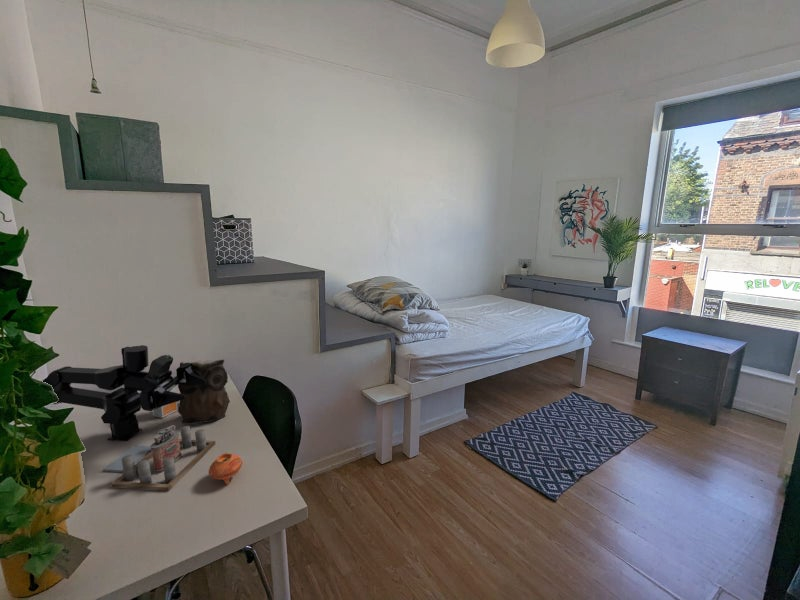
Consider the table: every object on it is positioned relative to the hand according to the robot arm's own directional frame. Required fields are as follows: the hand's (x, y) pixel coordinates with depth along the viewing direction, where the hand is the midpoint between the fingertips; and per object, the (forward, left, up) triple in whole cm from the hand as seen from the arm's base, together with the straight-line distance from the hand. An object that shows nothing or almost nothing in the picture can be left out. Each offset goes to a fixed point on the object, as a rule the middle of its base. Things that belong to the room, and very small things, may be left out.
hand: (195, 389), depth 108 cm
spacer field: (-2, -11, -17) cm, 20 cm away
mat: (-14, -10, -17) cm, 24 cm away
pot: (+17, -15, -17) cm, 28 cm away
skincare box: (-22, +15, -17) cm, 32 cm away
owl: (-7, +13, -16) cm, 22 cm away
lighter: (-2, -11, -17) cm, 21 cm away
